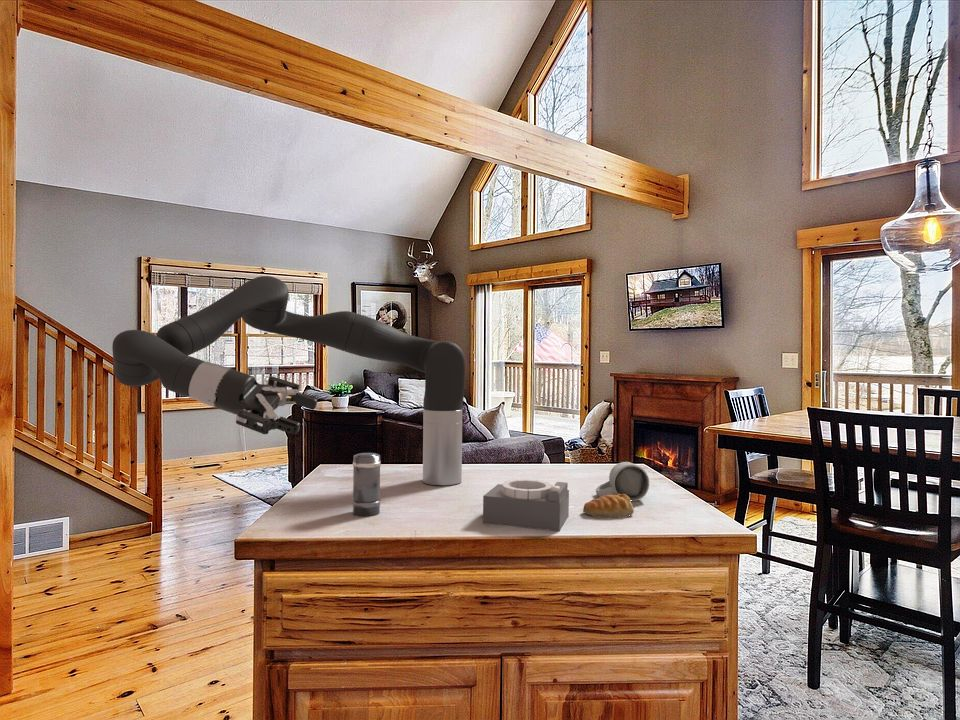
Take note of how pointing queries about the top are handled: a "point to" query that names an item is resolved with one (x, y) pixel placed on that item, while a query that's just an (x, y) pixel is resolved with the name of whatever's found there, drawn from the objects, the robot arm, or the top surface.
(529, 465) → the top surface
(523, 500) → the grey socket block
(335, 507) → the top surface
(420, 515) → the top surface
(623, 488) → the ceramic mug
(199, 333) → the robot arm
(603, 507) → the pastry
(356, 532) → the top surface
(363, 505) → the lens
